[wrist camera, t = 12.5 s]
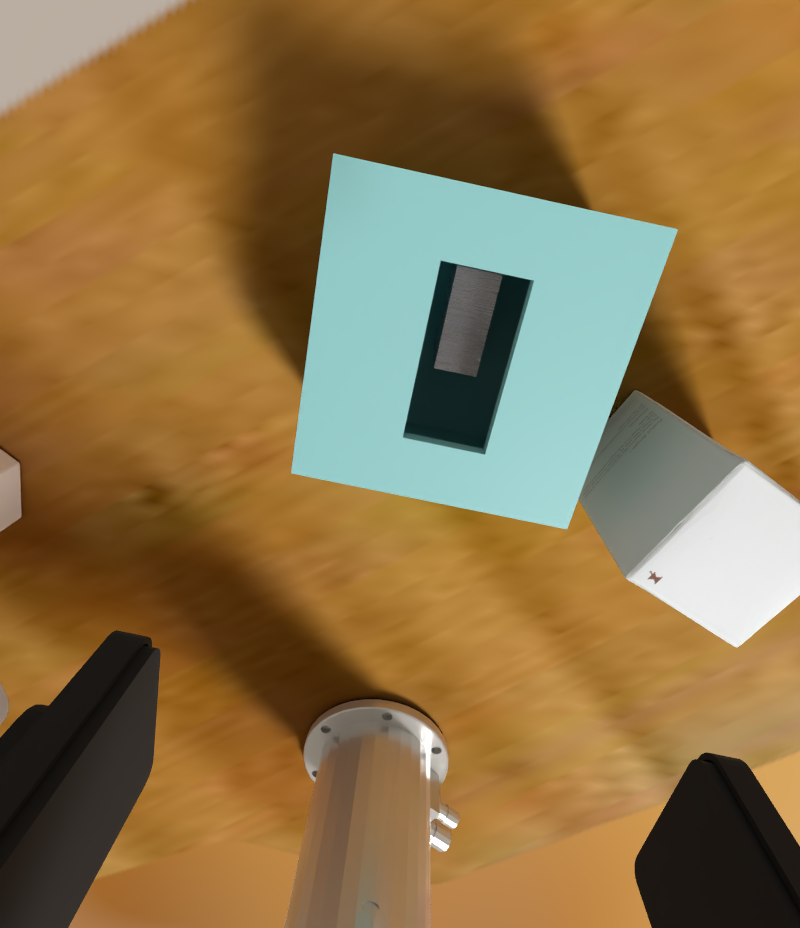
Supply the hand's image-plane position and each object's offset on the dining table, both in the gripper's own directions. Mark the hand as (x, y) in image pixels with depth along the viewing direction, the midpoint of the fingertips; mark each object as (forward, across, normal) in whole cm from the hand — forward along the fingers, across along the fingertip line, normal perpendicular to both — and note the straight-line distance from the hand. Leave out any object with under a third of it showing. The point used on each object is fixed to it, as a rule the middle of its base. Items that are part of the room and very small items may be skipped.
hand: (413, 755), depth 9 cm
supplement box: (+28, -15, +1) cm, 31 cm away
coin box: (+27, -1, -4) cm, 27 cm away
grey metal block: (+23, -1, -8) cm, 25 cm away
